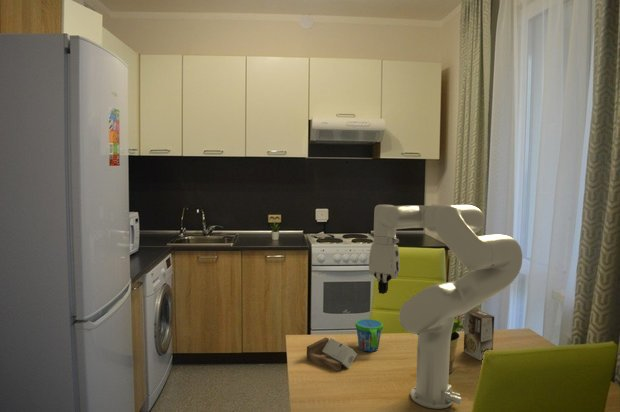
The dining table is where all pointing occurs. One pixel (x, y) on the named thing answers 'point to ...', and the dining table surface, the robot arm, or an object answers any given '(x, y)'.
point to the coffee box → (478, 333)
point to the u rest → (315, 356)
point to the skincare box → (339, 352)
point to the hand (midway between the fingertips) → (382, 292)
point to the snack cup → (368, 334)
